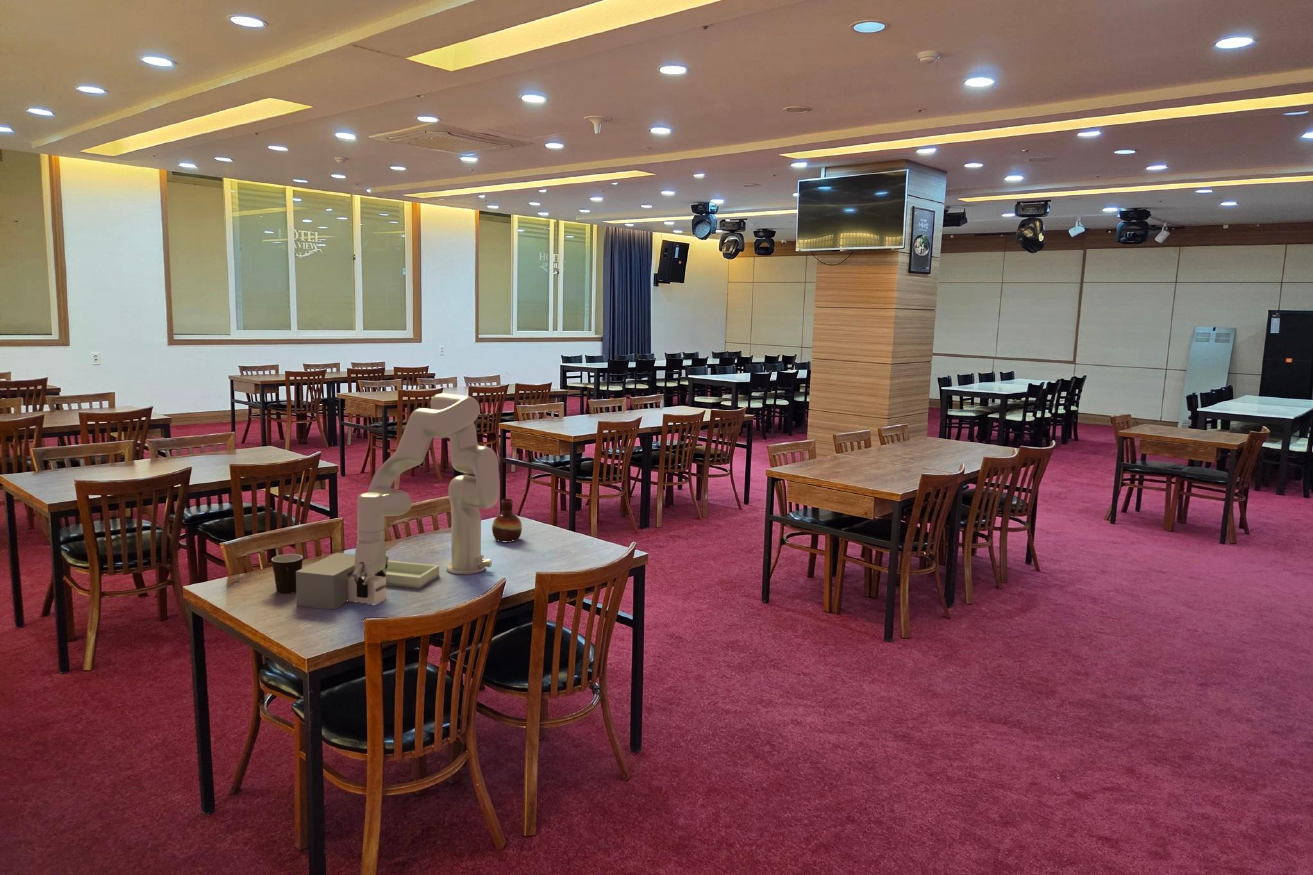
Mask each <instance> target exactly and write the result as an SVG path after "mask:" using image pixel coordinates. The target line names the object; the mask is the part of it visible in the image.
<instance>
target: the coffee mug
mask: <svg viewBox="0 0 1313 875" xmlns="http://www.w3.org/2000/svg"><path fill="white" fill-rule="evenodd" d="M303 559H304V557H303V555H301V554H296V553H286V554H279V555H275V556H274V557H272V558H271V564H272V565H271V566H272V570H273V571H272V572H273V577H274V583H275V588H276V592H277V593H278V594H280V595H281V594H282V595H283V594H285V595H287V594H294V593H296V571H298V570H300V569H302V568H303Z"/></svg>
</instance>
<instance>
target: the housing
mask: <svg viewBox="0 0 1313 875" xmlns="http://www.w3.org/2000/svg"><path fill="white" fill-rule="evenodd" d="M354 566H355V553H345V552H335V553H333V554H330V555H328V556H327V557H324V558H322V559H320V560H318V561H316V562H314V563H311V564H309V565H307V566H305V567H302V569H300V570H298V571H296V592H295V593H296V606H299V607H300V606H301V607H308V608H309V607H310V608H317V609H326V610H333V609H335V610H336V609H338V608H340V607H341V605H342V604H343V605H345V604H347V603H348V601H347V574H348V573H350V572H354ZM364 574H366V573H364ZM346 602H347V603H346ZM344 603H345V604H344ZM343 605H342V606H343ZM339 606H340V607H339Z"/></svg>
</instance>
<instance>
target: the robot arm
mask: <svg viewBox="0 0 1313 875" xmlns="http://www.w3.org/2000/svg"><path fill="white" fill-rule="evenodd" d="M429 403H430V404H429V405H430V408H427V407H426V408H425V407H424V408H423V407H422V408H416V409H415V410H413V411H412V412H411V414H410V416H409V418H408V420H407V423H406V426H405V428H404V429H403V430H404V431H403V433H402V436H401V438H400V441H399V443H398V446H397V448H396V450H395V452H394V453H393V455H391V456H390V457H389V458H388V459H387V460H386V461H384V462H383V463H382V464H381V465H380V466H379V468H378V469H377V470H376V471H375V473H374V474H373V477H372V479H371V481H370V484H369V487H368V489H367V492H363V493H361V494H359V495H358V497H357V502H356V506H357V508H356V509H357V519H356V520H357V521H356V522H357V542H356V545H355V552H354V554H355V566H354V572H353V576H354V580H355V582H356V584H357V597H361V598H367V597H368V584H366V583H367V580H368V578H369V576H372V575H374V574H375V576H382V577H386V575H385V574H386V572H387V571H386V568H387V566H388V565H387V563H388V560H389V558H390V557H389V556H387V552H386V551H387V550H386V541H385V539H386V538H385V536H386V534H385V532H386V531H385V530H386V529H385V528H386V527H385V526H386V519H385V518H386V517H391V516H392V517H397V516H402V515H404V514H406V513H408V512H409V511H410V510H411V508H412V506H413V500H412V497H411V496H410V494H409V493H408V492H406V491H404V490H400V489H395V488H392V485H393V483H394V482H395V480H396V479H397V478H398V476H400V475H401V474H402V473H404V472H405V471H408V470H410V469H412V468H414V467H417V466H420V465H421V464H422V463H423V462H424V461H425V457H426V455H427V454H428V453H427V452H428V450H429V447H430V445H431V442H432V440H433V438H436V439H447V438H449V446H450V460H451V462H450V463H451V466H452V468H453V469H454V470H455V471H457V472H460V473H463V474H462V475H461V474H460V475H457V476H455V477H453V478H452V479H451V481H450V482H449V485H448V489H447V492H448V499H449V503H450V505H449V506H450V511H451V529H450V530H451V534H450V535H451V562H450V563H448V564H447V565H446V571H447V572H449V573H451V574H456V575H474V574H478V572H479V573H481V572H483V571H484V569H485V570H486V568H492V564H493V563H492V560H491V559H485V557H484V556H485V555H484V554H482V551H481V550H482V516H481V511H480V509H491V508H493V507H494V506H495V505H497V502H498V500H499V498H500V473H499V472H500V471H499V460H498V457H497V454H496V452H495V451H494V449H492V448H491V447H489V446H485V445H479V443H478V436H477V429H476V424H475V423H474V422H475V421H476V420H477V419H478V417H479V414H480V410H481V409H480V408H481V407H480V404H479V402H478V401H477V399H476V398H475V397H472V396H469V395H465V394H464V395H462V394H455V393H446V392H445V393H444V392H443V393H438V394H434V395H433V396H432V398H431V400H430V402H429ZM466 474H470V475H466ZM473 475H474V476H473ZM364 573H366V574H364ZM376 573H377V574H376ZM361 577H364V580H363V579H362V578H361Z"/></svg>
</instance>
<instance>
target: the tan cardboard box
mask: <svg viewBox="0 0 1313 875" xmlns="http://www.w3.org/2000/svg"><path fill="white" fill-rule="evenodd" d="M361 578H362V579H363V580H364V577H361ZM366 584H368V597H367V598H361V597H357V584H356V582H355V580H354V576H353V572H350V573H348V574H347V600H348V601H347V602H351V601H356V602H355V603H357V602H361V603H360V604H363V603H368V604H367V605H369V604H376V605H378V604H380V603H382V602H384V601H386V600H387V587H388V585H386V577H382V576H375V575H372V576H369V578H368V580H367V583H366ZM385 599H386V600H385ZM381 601H382V602H381ZM377 603H378V604H377Z"/></svg>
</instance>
